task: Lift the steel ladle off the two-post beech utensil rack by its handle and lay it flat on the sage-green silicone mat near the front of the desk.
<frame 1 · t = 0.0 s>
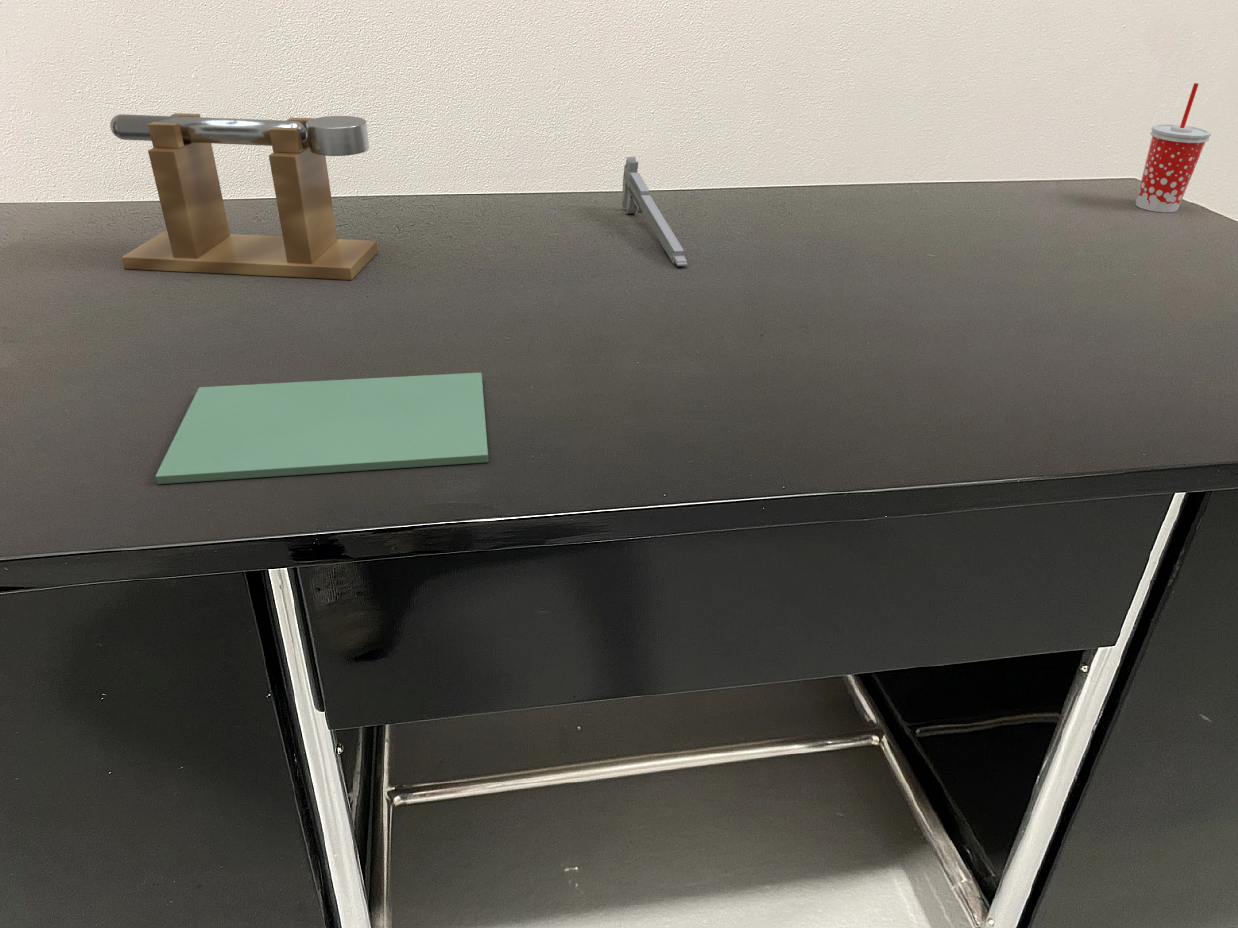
rack: (255, 260, 91), on the table
mat: (336, 426, 63), on the table
beverage cup: (1155, 208, 113), on the table
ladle: (232, 144, 85), point 11 cm above the table, touching rack
caliper: (651, 238, 99), on the table
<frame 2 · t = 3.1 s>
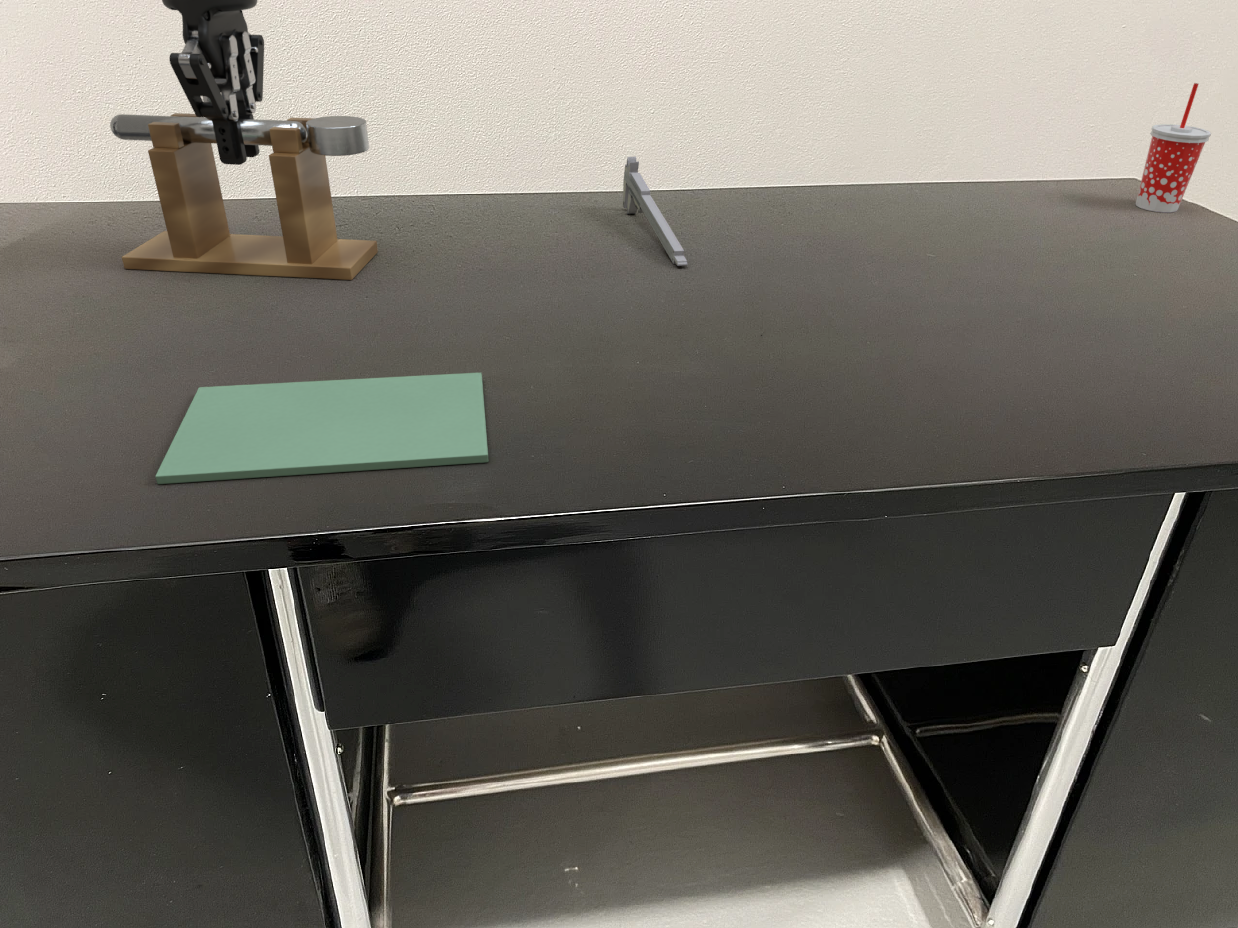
hand: (240, 159, 85), 10 cm above the table, tool pointing down, fingers closed on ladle, 2 cm apart
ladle: (232, 144, 85), point 11 cm above the table, touching gripper, rack
everything else where it was.
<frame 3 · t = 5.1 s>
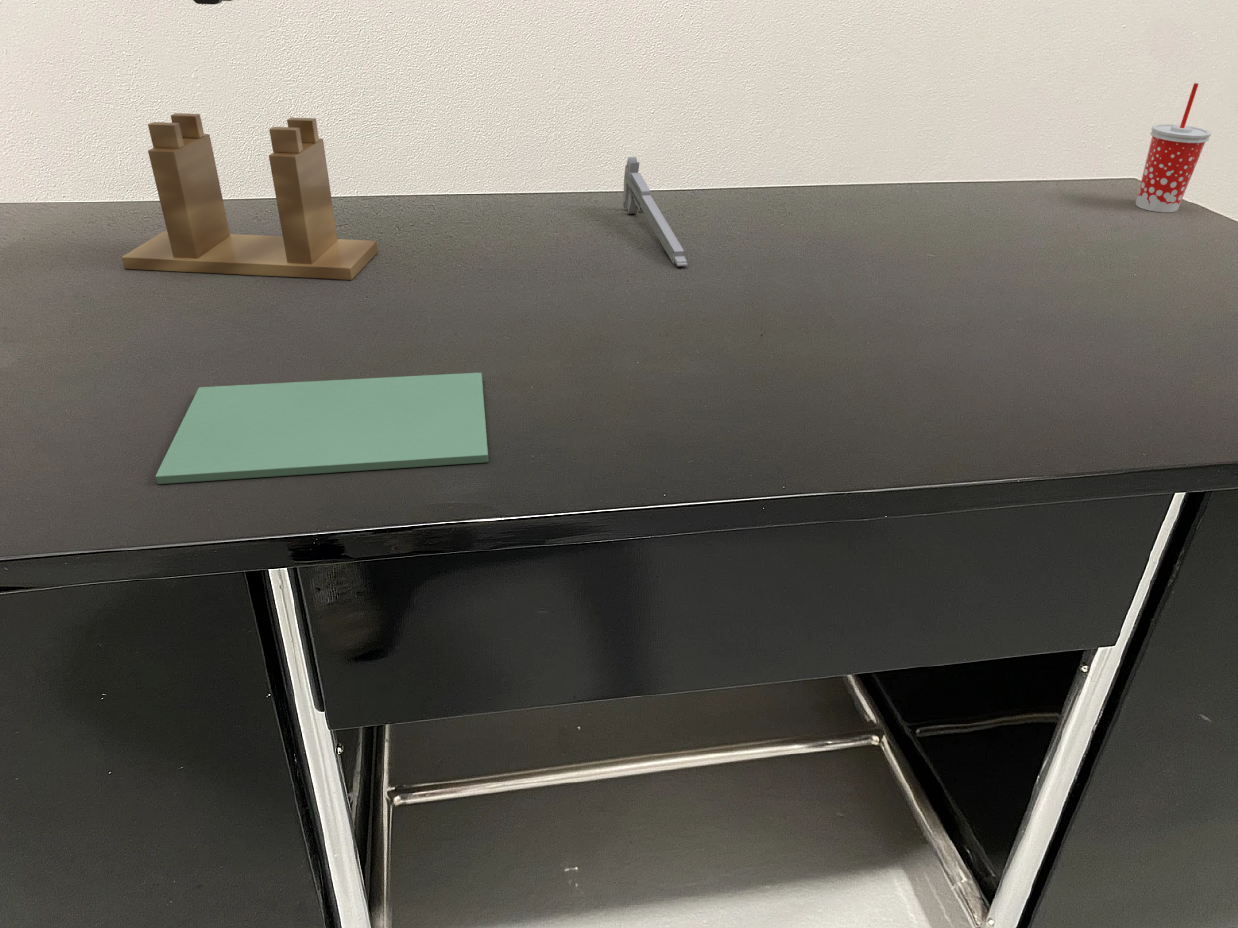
hand: (215, 1, 75), 23 cm above the table, tool pointing down, fingers closed on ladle
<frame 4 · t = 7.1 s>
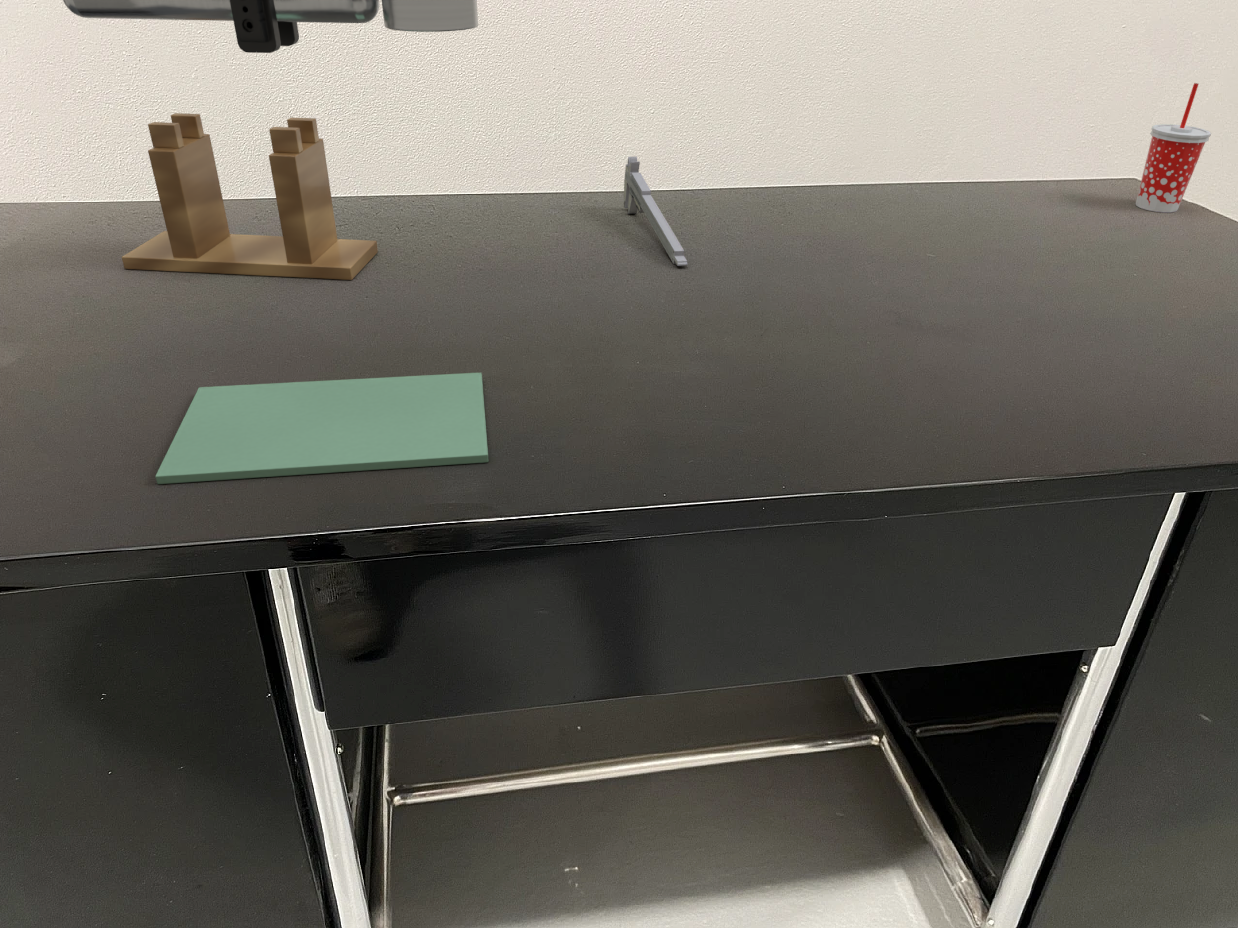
hand: (270, 47, 53), 23 cm above the table, tool pointing down, fingers closed on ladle
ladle: (258, 21, 53), point 25 cm above the table, touching gripper
everything else where it was.
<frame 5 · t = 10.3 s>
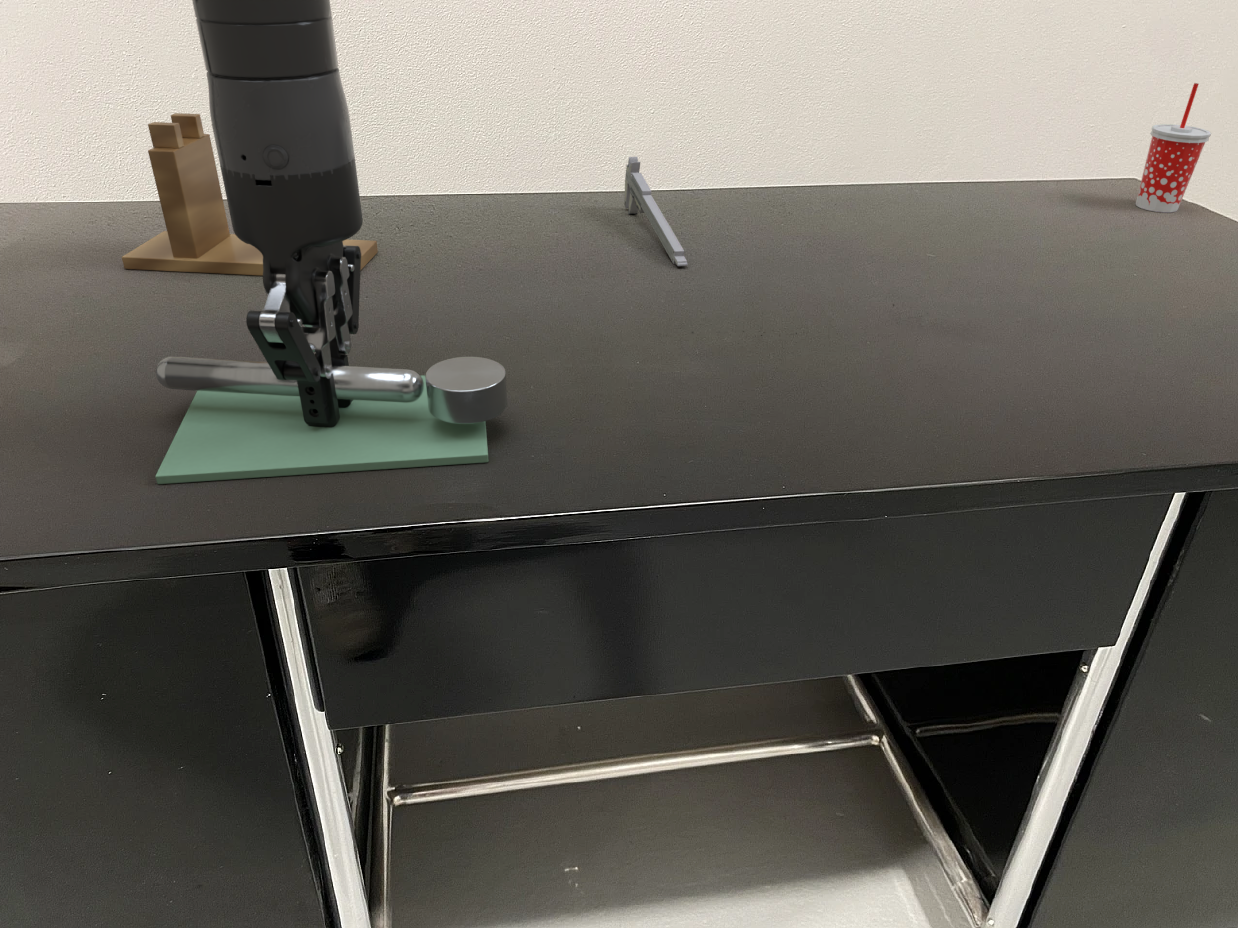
hand: (330, 413, 63), 1 cm above the table, tool pointing down, fingers closed on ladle, 2 cm apart
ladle: (321, 395, 62), point 2 cm above the table, touching gripper
everything else where it was.
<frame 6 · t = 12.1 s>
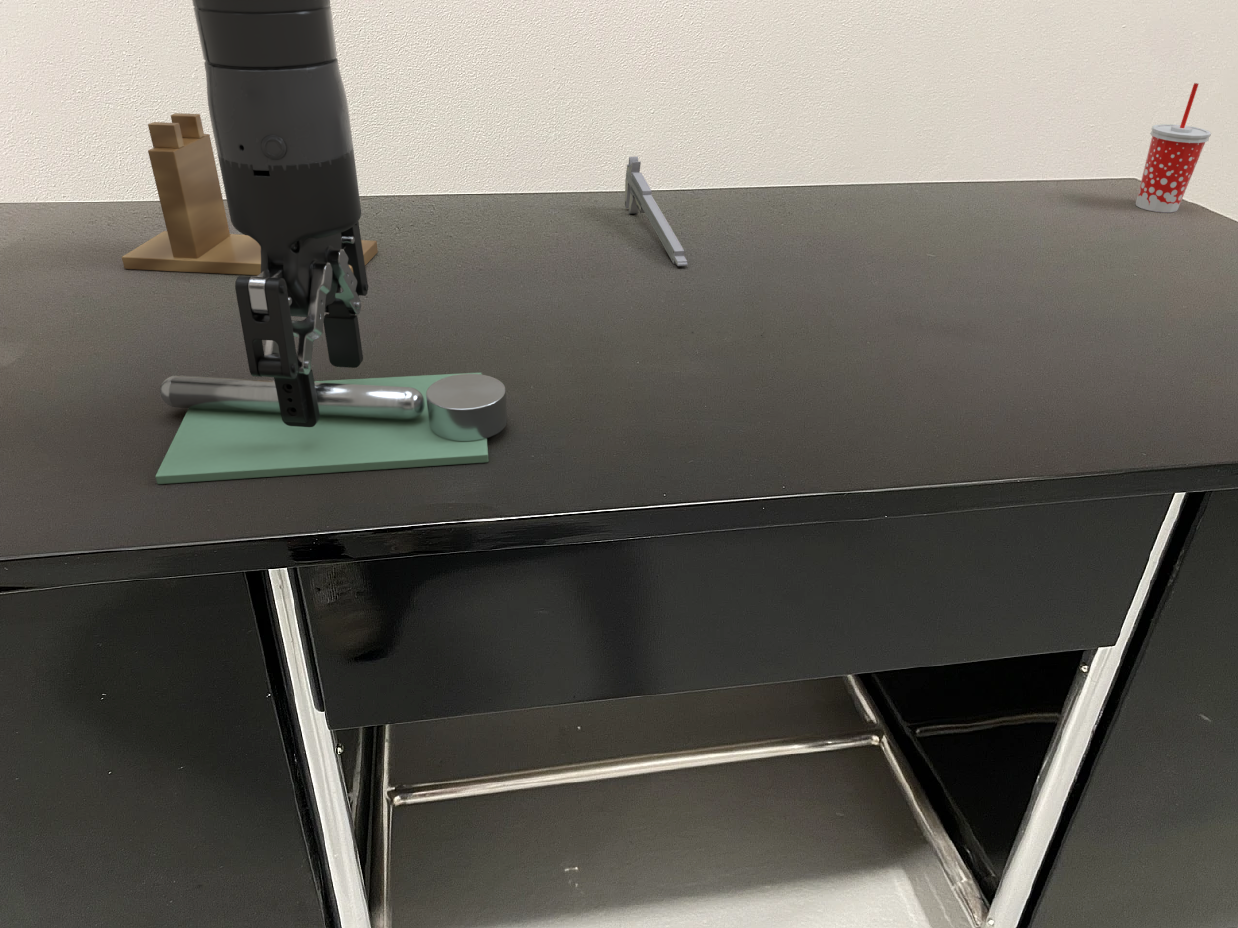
hand: (325, 393, 62), 2 cm above the table, tool pointing down, fingers open, 8 cm apart
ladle: (323, 413, 63), point 1 cm above the table, touching mat
everything else where it was.
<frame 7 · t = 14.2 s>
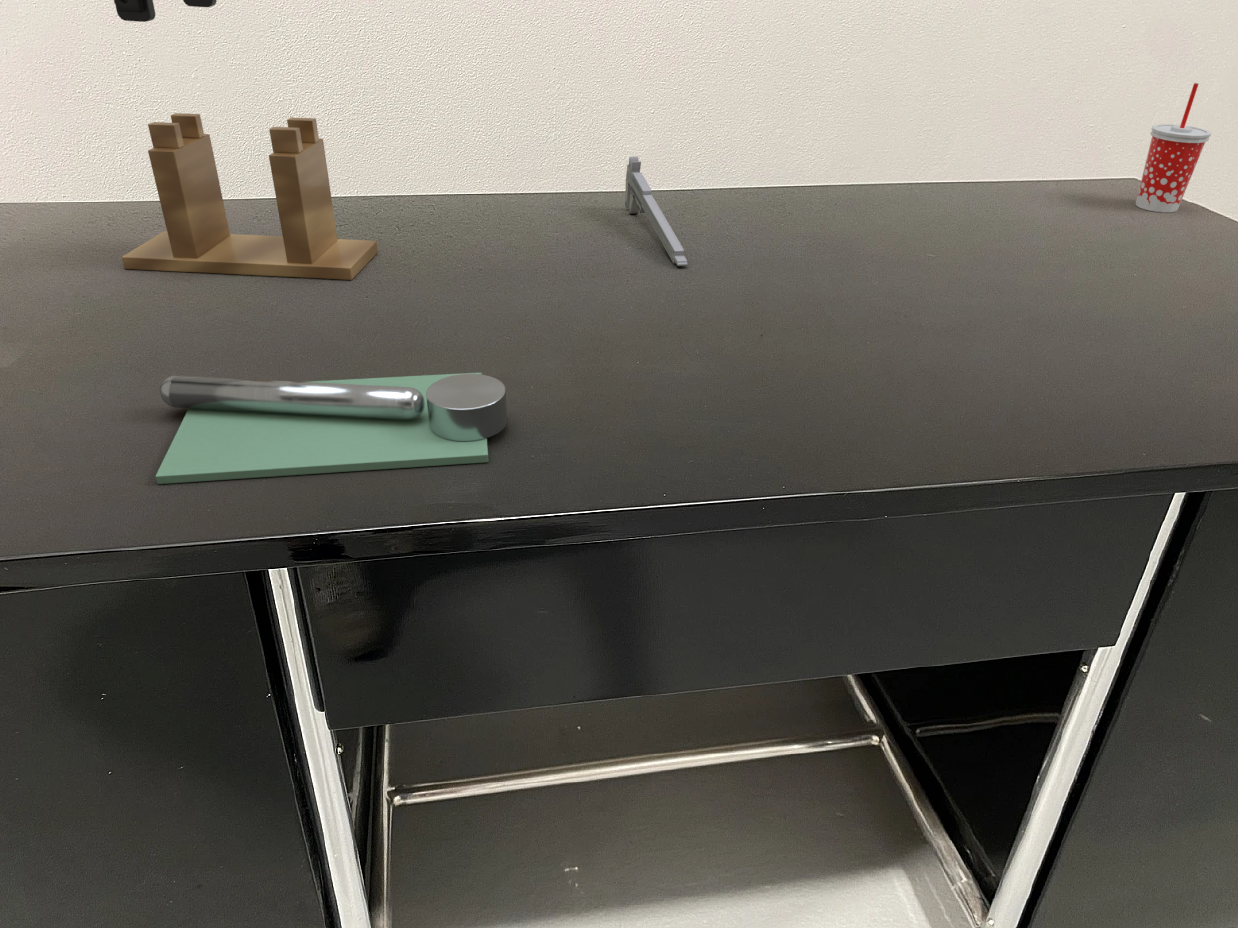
hand: (171, 13, 64), 24 cm above the table, tool pointing down, fingers open, 8 cm apart
nothing on the table moved.
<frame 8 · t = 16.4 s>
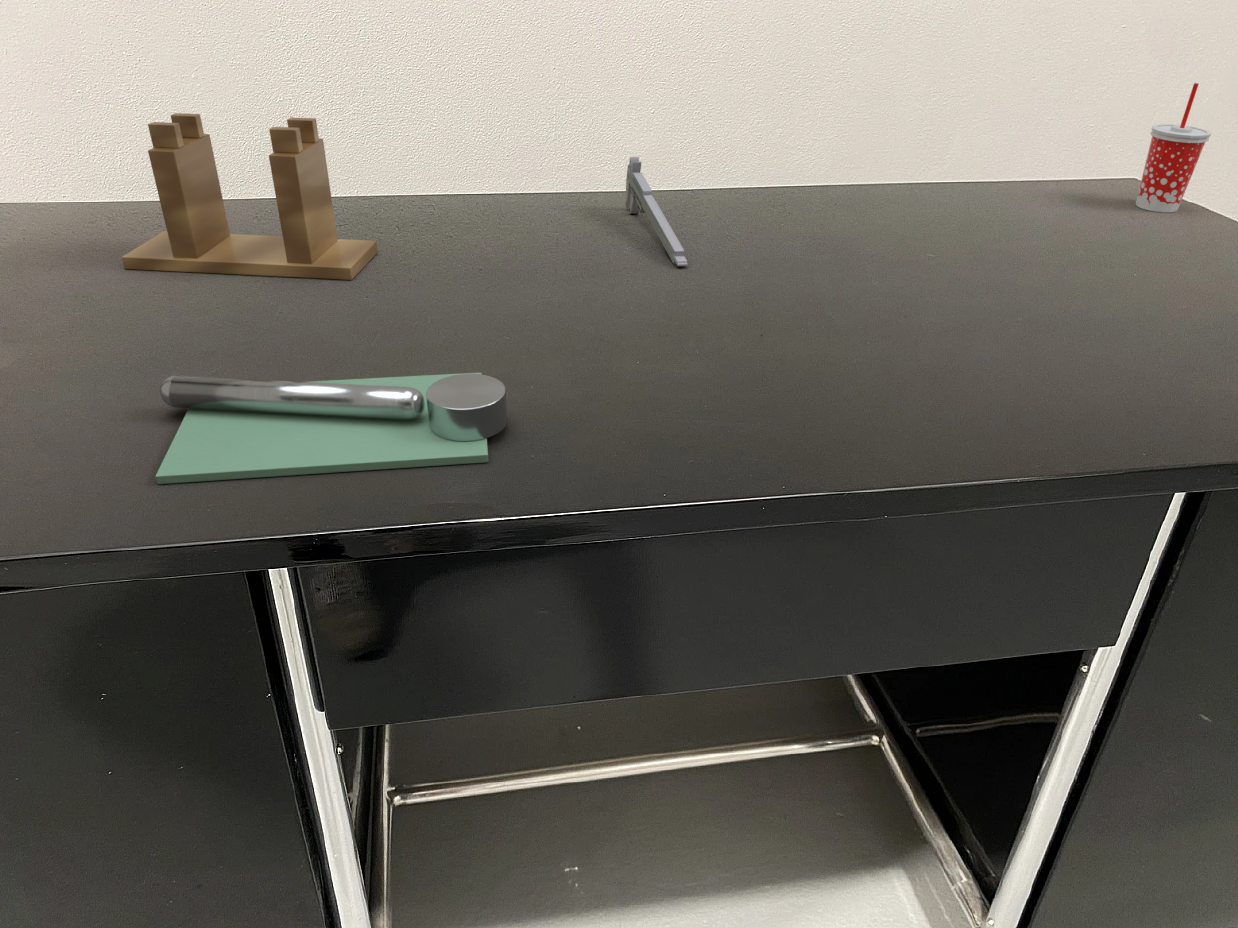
nothing on the table moved.
at the end: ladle inside the target area on the mat (0.7 cm from its centre), point 0.7 cm above the mat's base; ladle tilted 0°; the gripper is holding nothing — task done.
